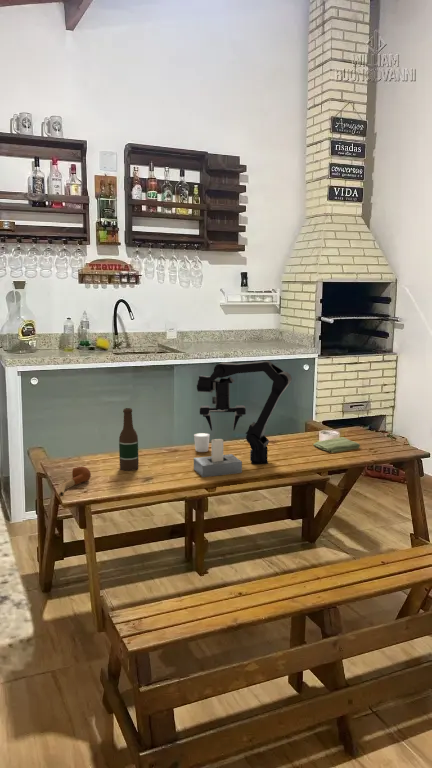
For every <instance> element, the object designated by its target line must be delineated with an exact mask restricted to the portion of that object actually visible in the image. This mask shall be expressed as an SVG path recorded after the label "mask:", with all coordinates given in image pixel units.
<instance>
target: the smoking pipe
mask: <svg viewBox="0 0 432 768" xmlns="http://www.w3.org/2000/svg"><path fill="white" fill-rule="evenodd" d="M91 475H92V473H91V470H89V468H88V467H85V466H77V467H73V468H72V474H71V476H72V478H71V479H69V480H67V481H65V482H64V483H62V484H61V486H60V489H59V490H60V491H59V493H58V494H59V496H64V495H65V491H66V489H68V488H71V487H73V486H77V485H79V484H81V483H82V484H83V483H86V482H88V481H89V480H90V479H91Z"/></svg>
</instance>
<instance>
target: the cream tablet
mask: <svg viewBox="0 0 432 768" xmlns="http://www.w3.org/2000/svg"><path fill="white" fill-rule="evenodd" d="M210 444H211V445H210V446H211V447H210V448H211V456H212V462H218V461H223V455H224V439H222V438H215V439H211V443H210Z"/></svg>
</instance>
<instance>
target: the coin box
mask: <svg viewBox="0 0 432 768" xmlns="http://www.w3.org/2000/svg"><path fill="white" fill-rule="evenodd" d="M193 470H194V471H195V472H196V473H197V474H198V475H200V477H201V478H205V477H207V478H208V477H217V476H225V475H235V474H242V473H243V461H242V460H241V459H239V458H238V457H237V456H235V455H234V454H232V453H230V454H223V461H218V462H212V455H211V456H210V455H209V456H201V457H193Z"/></svg>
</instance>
